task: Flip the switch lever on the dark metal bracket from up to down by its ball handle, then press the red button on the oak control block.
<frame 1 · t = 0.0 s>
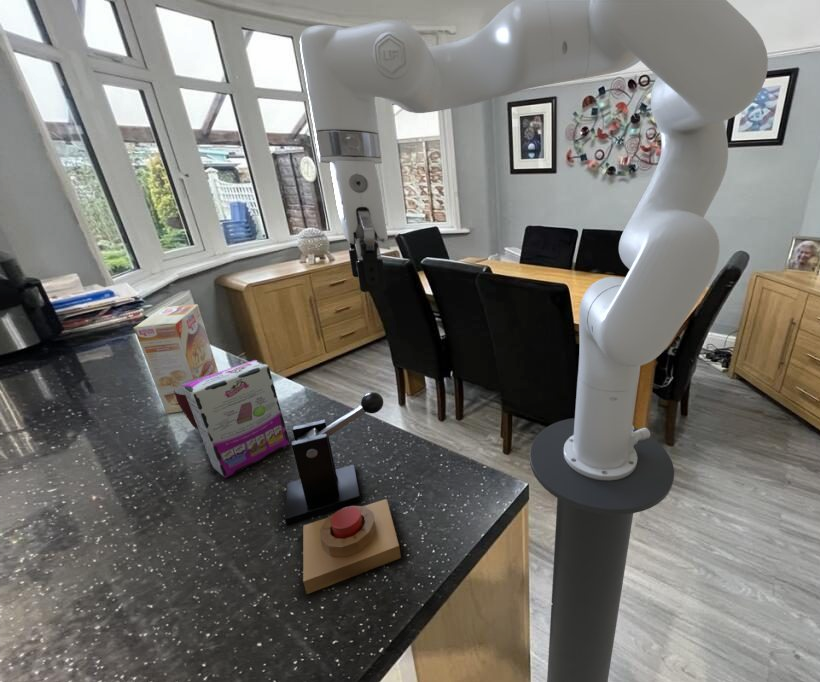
hand: (368, 282, 56), 32 cm above the kitchen counter, tool pointing down, fingers open, 9 cm apart
switch lever: (343, 421, 58), point 12 cm above the kitchen counter, hinge at 25.0°
candy bar box: (252, 456, 70), on the kitchen counter
coffeecake box: (196, 396, 90), on the kitchen counter
switch bracket: (323, 495, 61), on the kitchen counter
start button: (347, 522, 51), point 4 cm above the kitchen counter, slide at 0.1 cm
button block: (352, 547, 52), on the kitchen counter
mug: (219, 426, 79), on the kitchen counter
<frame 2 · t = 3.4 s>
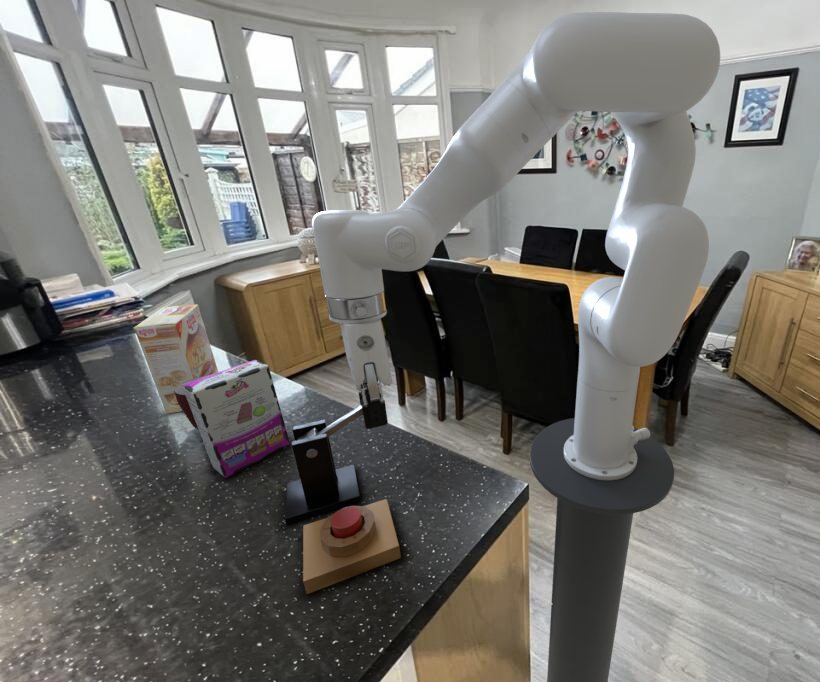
hand: (374, 418, 61), 11 cm above the kitchen counter, tool pointing down, fingers closed on switch lever, 3 cm apart
switch lever: (343, 421, 58), point 12 cm above the kitchen counter, hinge at 25.0°, touching gripper
everything else where it was.
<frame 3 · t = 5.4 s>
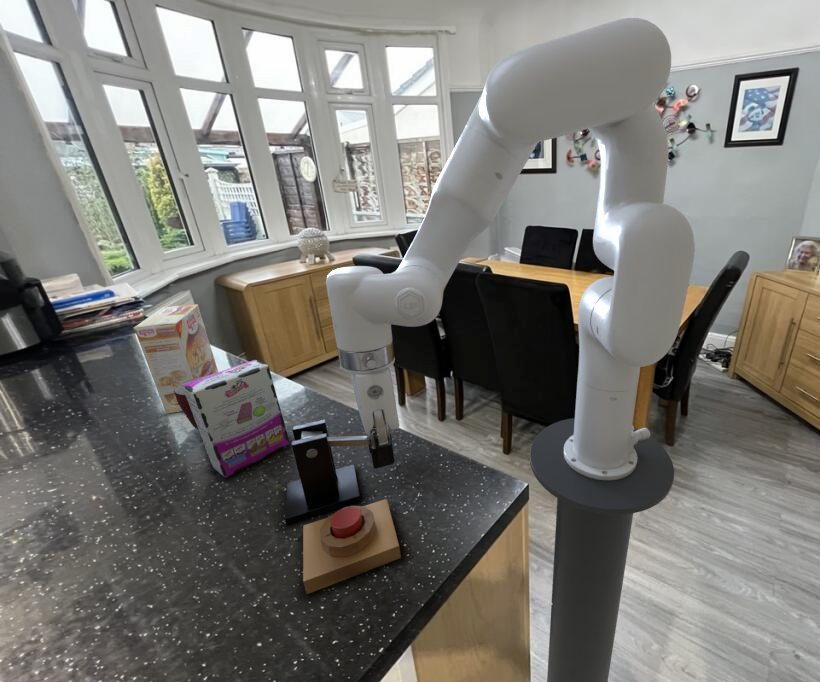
hand: (381, 456, 63), 4 cm above the kitchen counter, tool pointing down, fingers closed on switch lever, 3 cm apart
switch lever: (348, 441, 60), point 9 cm above the kitchen counter, hinge at -16.0°, touching gripper
everything else where it was.
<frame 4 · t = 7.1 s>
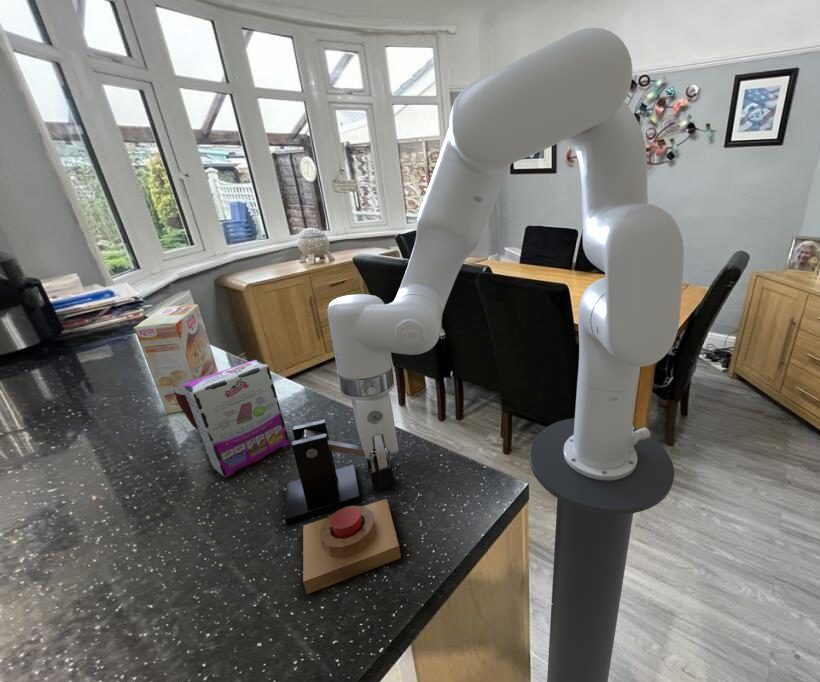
hand: (380, 476, 65), 0 cm above the kitchen counter, tool pointing down, fingers open, 4 cm apart
switch lever: (346, 448, 60), point 7 cm above the kitchen counter, hinge at -30.5°
everything else where it was.
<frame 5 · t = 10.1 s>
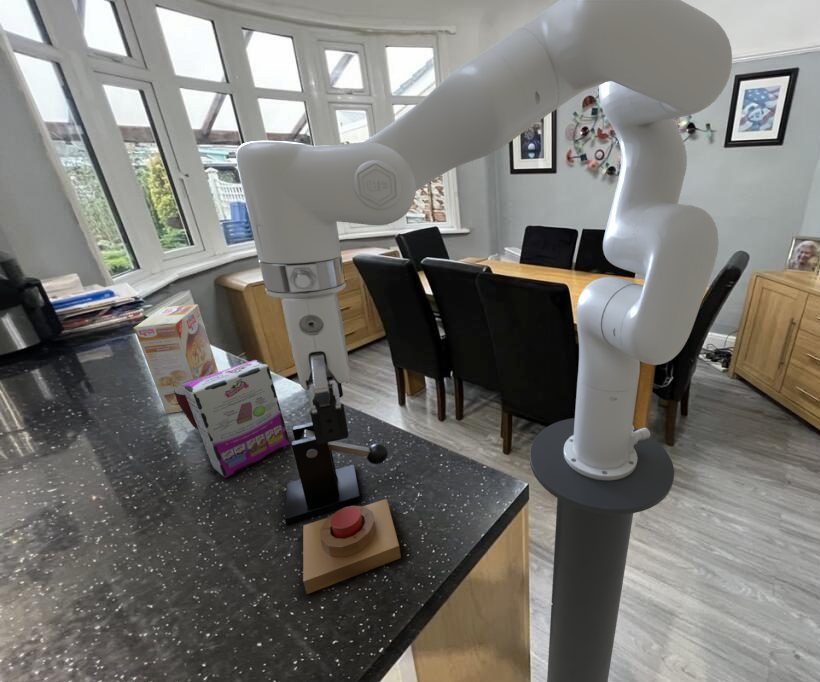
hand: (331, 417, 47), 19 cm above the kitchen counter, tool pointing down, fingers open, 9 cm apart
nothing on the kitchen counter moved.
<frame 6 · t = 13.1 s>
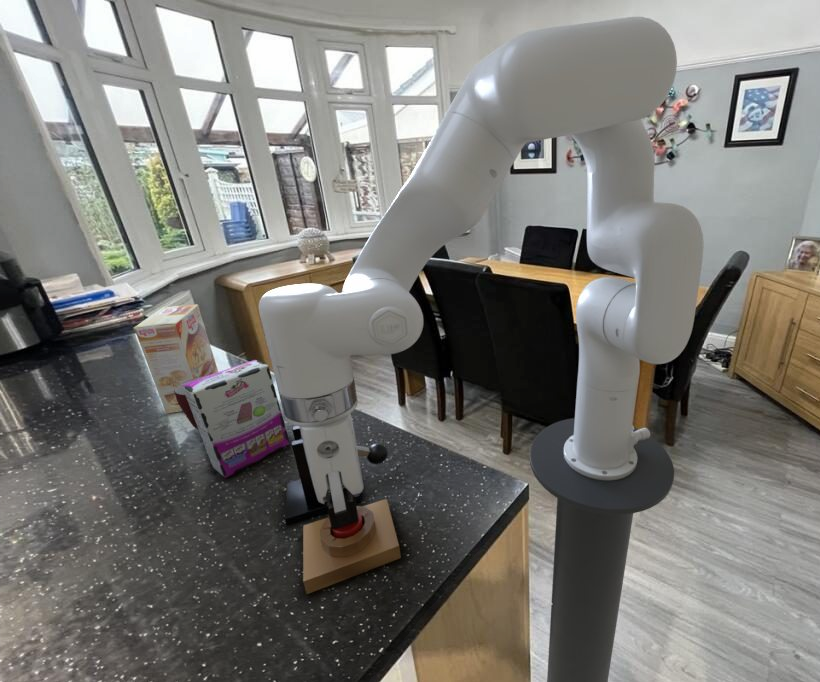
hand: (345, 521, 50), 5 cm above the kitchen counter, tool pointing down, fingers closed
start button: (347, 526, 51), point 4 cm above the kitchen counter, slide at -0.6 cm, touching gripper
everything else where it was.
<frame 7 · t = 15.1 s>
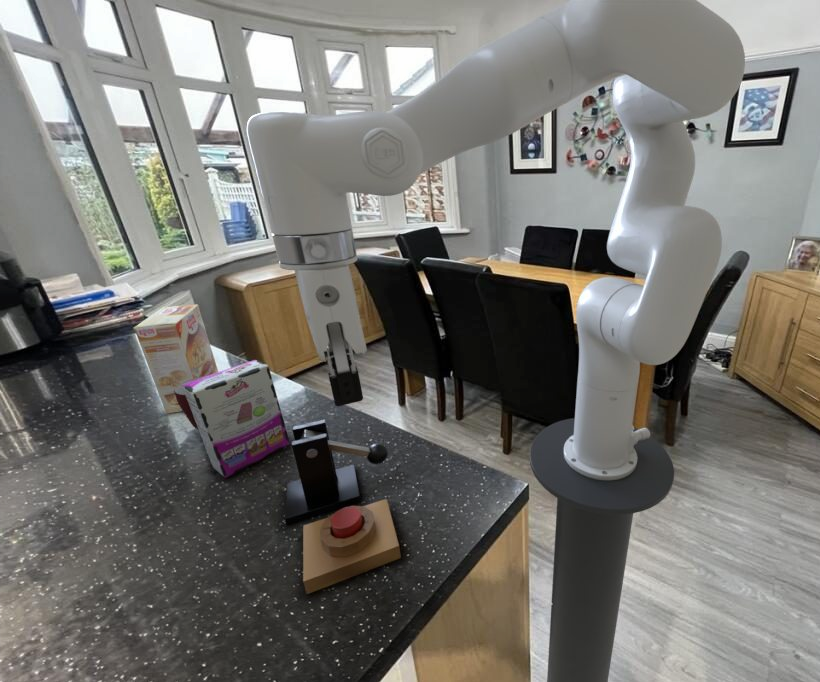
hand: (349, 400, 48), 20 cm above the kitchen counter, tool pointing down, fingers closed
start button: (347, 522, 51), point 4 cm above the kitchen counter, slide at 0.1 cm
everything else where it was.
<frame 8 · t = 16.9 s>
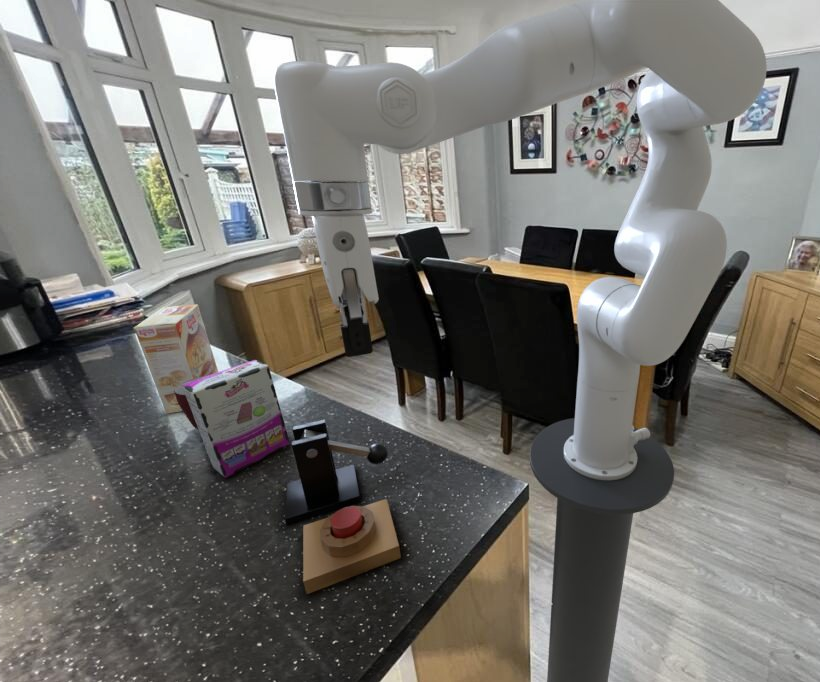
hand: (359, 352, 50), 25 cm above the kitchen counter, tool pointing down, fingers closed
nothing on the kitchen counter moved.
at the end: switch lever at -30° (first picture: +25°); start button pushed in 1.1 cm at the most during the clip, back to where it started at the end; start button slide at 0.1 cm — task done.
